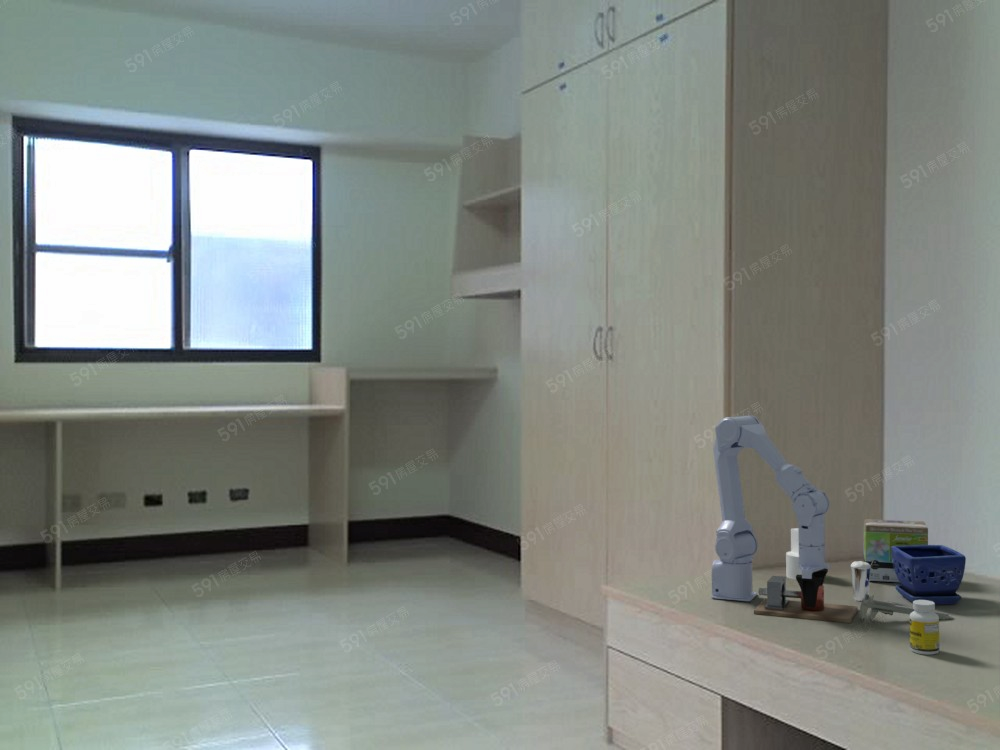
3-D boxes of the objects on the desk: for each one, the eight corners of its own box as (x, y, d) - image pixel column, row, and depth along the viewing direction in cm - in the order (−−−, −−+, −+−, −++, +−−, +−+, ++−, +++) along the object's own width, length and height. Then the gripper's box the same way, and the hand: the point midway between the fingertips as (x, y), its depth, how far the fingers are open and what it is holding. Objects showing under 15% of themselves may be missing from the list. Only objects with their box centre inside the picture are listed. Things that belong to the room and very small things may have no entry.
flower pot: (969, 606, 235) (968, 555, 235) (911, 608, 235) (910, 556, 235) (943, 592, 249) (943, 543, 248) (889, 594, 248) (888, 545, 248)
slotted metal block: (764, 609, 234) (764, 582, 234) (771, 600, 241) (771, 574, 241) (782, 610, 232) (781, 583, 232) (789, 602, 239) (788, 576, 239)
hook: (757, 605, 236) (756, 581, 236) (761, 600, 241) (761, 576, 241) (822, 611, 230) (821, 586, 230) (825, 606, 234) (825, 581, 234)
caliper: (862, 623, 225) (861, 594, 224) (860, 621, 226) (860, 593, 226) (954, 620, 225) (953, 591, 225) (952, 619, 226) (951, 590, 226)
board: (753, 613, 233) (753, 610, 233) (764, 601, 244) (764, 598, 244) (850, 622, 224) (850, 619, 224) (857, 609, 235) (857, 606, 235)
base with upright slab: (780, 574, 273) (779, 529, 272) (811, 571, 274) (811, 527, 274) (796, 581, 264) (795, 535, 263) (828, 579, 265) (827, 533, 265)
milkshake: (876, 602, 241) (875, 560, 241) (852, 601, 242) (851, 559, 242) (873, 597, 245) (872, 556, 245) (849, 597, 246) (849, 555, 246)
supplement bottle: (904, 648, 205) (904, 599, 205) (930, 646, 205) (930, 598, 205) (918, 656, 199) (917, 606, 199) (944, 654, 200) (944, 604, 200)
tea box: (865, 582, 261) (864, 524, 261) (863, 573, 271) (862, 518, 270) (928, 585, 257) (928, 526, 256) (924, 576, 266) (924, 519, 266)
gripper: (824, 551, 224) (825, 612, 225) (834, 539, 237) (835, 597, 238) (792, 549, 228) (792, 610, 228) (803, 537, 241) (804, 595, 241)
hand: (812, 603), depth 233 cm, fingers open, 6 cm apart
